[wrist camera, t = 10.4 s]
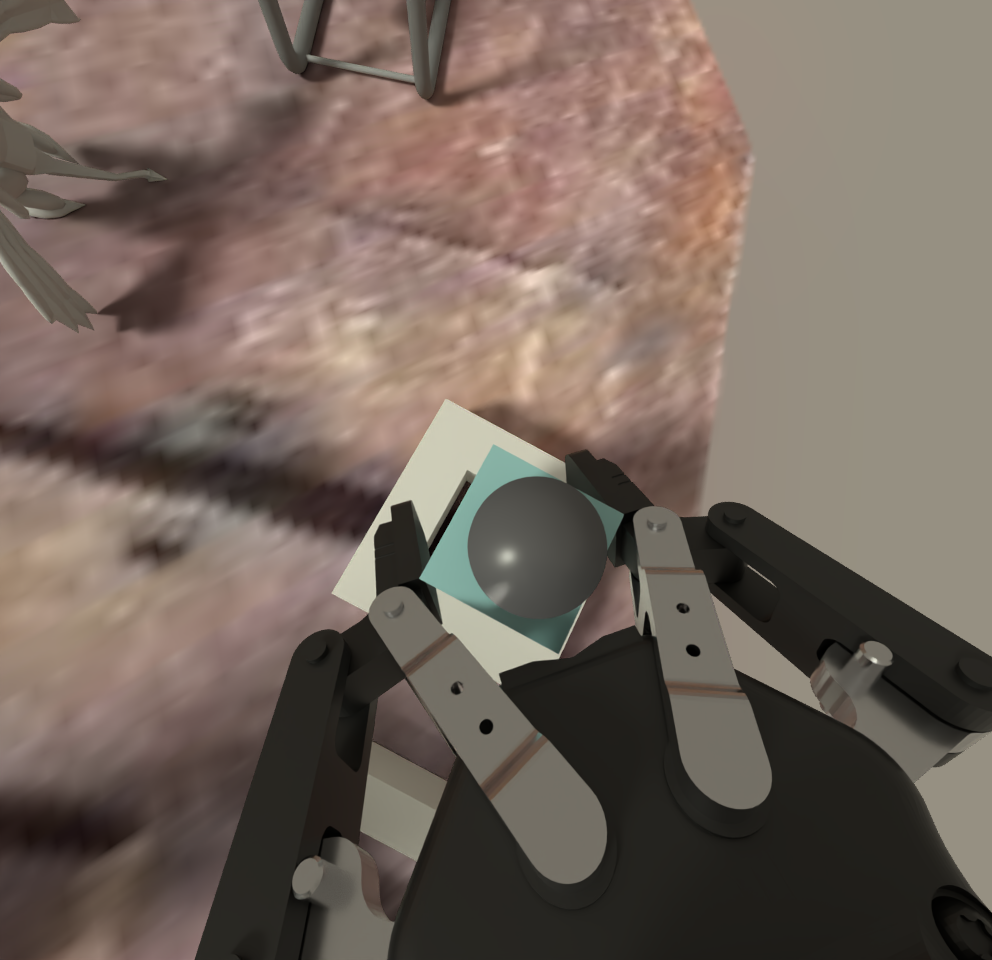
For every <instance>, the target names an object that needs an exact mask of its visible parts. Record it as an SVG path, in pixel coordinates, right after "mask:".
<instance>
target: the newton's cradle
mask: <svg viewBox="0 0 992 960" xmlns="http://www.w3.org/2000/svg"><path fill="white" fill-rule="evenodd" d="M258 2H259V4H260V7H261V10H262V12H263V15H264V18H265V21H266V23H267V26H268V29H269V31H270V34H271V37H272V39H273V42H274V45H275V47H276V50H277V52H278V54H279V57H280V59H281V61H282V62H283V63H284V65H285V66H286V68H287V69H288V70H290V71H291V72H293V73H295V74H300V73H301V72H303V71H304V70H305V69H306V66H307V64H308V62H310V63H315V64H320V65H325V66H330V67H335V68H340V69H345V70H350V71H355V72H360V73H365V74H370V75H375V76H380V77H385V78H390V79H395V80H400V81H405V82H410V83H415V86H416V90H417V92H418V94H419V95H420V96H421V97H422V98H423V99H429V98H430V97H431V96H432V95H433V93H434V89H435V84H436V79H437V74H438V68H439V63H440V57H441V52H442V46H443V41H444V35H445V30H446V24H447V19H448V13H449V8H450V3H451V0H435V5H434V10H433V15H432V21H431V26H430V31H429V36H427V20H426V5H425V0H406V2H407V12H408V22H409V32H410V42H411V52H412V62H413V72H414V76H412V75H407V74H402V73H397V72H392V71H387V70H382V69H377V68H372V67H367V66H362V65H357V64H352V63H347V62H342V61H337V60H332V59H327V58H322V57H317V56H312V55H310V52H311V48H312V44H313V40H314V36H315V32H316V28H317V24H318V20H319V16H320V12H321V8H322V4H323V0H304V4H303V8H302V12H301V16H300V19H299V23H298V27H297V31H296V35H295V39H294V43H293V46H292V43H291V40H290V37H289V34H288V31H287V28H286V25H285V22H284V19H283V16H282V13H281V10H280V7H279V4H278V1H277V0H258Z"/></svg>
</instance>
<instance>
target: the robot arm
mask: <svg viewBox="0 0 992 960" xmlns="http://www.w3.org/2000/svg"><path fill="white" fill-rule="evenodd" d="M565 466H566V482H567V484H569V485H571V486H572V487H574V488H576V489H578V490H580V491H581V492H583V493H585V494H587V495H589V496H591V497H593V498H595V499H596V500H598V501H600V502H602V503H604V504H606V505H608V506H609V507H611V508H613V509H615V510H617V511H619V512H621V513H622V514H624V516H623V518H622V520H621V523H620V525H619V527H618V529H617V531H616V533H615V535H614V538H613V540H612V542H611V544H610V546H609V548H608V550H607V556H608V558H609V559H610V561H611V562H612V564H613V565H614V567H618V566H621V565H624V564H626V565H627V567H628V568H629V570H630V572H629V580H630V587H631V595H632V602H633V610H634V617H635V625H636V627H635V625H634V626H631V627H629V628H626V629H623V630H620V631H617V632H614V633H612V634H609V635H606V636H603V637H601V638H600V639H598V640H597V641H596V642H594V643H593V644H591V645H590V646H588V647H587V648H586V649H584V650H583V651H581V652H580V653H578V654H577V655H576V656H574V657H571V658H565V659H553V660H542V661H532V662H530V663H527V664H524V665H521V666H518V667H515V668H513V669H510V670H507V671H504V672H501V673H499V677H500V680H501V685H499V686H498V685H497V683H496V682H495V681H494V680H493V679H492V677H491V676H490V675H489V674H488V673H487V672H486V670H485V669H484V668H483V667H482V666H481V665H480V663H479V662H478V661H477V660H476V659H475V657H474V656H473V655H472V654H471V653H470V652H469V650H468V649H467V648H466V647H465V646H464V645H463V643H462V642H461V641H460V640H459V639H458V638H457V637H456V636H455V635H454V634H453V633H451V634H449V633H448V632H447V631H446V630H445V629H444V628H443V626H442V624H443V622H442V617H441V612H440V606H439V601H438V596H437V591H436V588H435V587H433V586H432V585H430V584H428V583H426V582H424V581H422V580H421V579H419V578H420V576H421V574H422V573H423V571H424V569H425V567H426V565H427V564H428V562H429V560H430V555H429V549H428V545H427V541H426V537H425V534H424V531H423V528H422V526H421V523H420V520H419V518H418V515H417V512H416V510H415V507H414V504H413V502H412V500H409V501H406V502H402V503H399V504H395V505H392V506H391V518H392V521H390V522H386V523H383V524H380V525H379V527H378V529H377V531H376V533H375V535H374V549H375V551H374V553H375V577H376V598H375V599H374V601H373V602H372V604H371V606H370V608H369V613H368V615H367V616H366V617H365V618H364V619H362V620H361V621H360V622H359V623H357V624H356V625H354V626H352V627H351V628H349V629H348V630H346V631H344V632H343V633H341V634H340V633H339V632H337V631H335V630H329V629H327V630H321V631H318V632H316V633H314V634H312V635H310V636H309V637H307V638H306V639H305V640H304V641H302V643H301V644H300V645H299V646H298V647H297V649H296V650H295V652H294V654H293V656H292V659H291V662H290V665H289V668H288V671H287V675H286V678H285V681H284V684H283V687H282V690H281V693H280V696H279V699H278V702H277V706H276V709H275V712H274V715H273V718H272V721H271V724H270V727H269V730H268V733H267V737H266V740H265V743H264V746H263V749H262V752H261V755H260V758H259V761H258V765H257V768H256V771H255V774H254V777H253V780H252V783H251V786H250V789H249V792H248V796H247V799H246V802H245V805H244V808H243V811H242V814H241V817H240V820H239V823H238V827H237V830H236V833H235V836H234V839H233V842H232V845H231V848H230V851H229V854H228V858H227V861H226V864H225V867H224V870H223V873H222V876H221V879H220V882H219V885H218V889H217V892H216V895H215V898H214V901H213V904H212V907H211V910H210V913H209V917H208V920H207V923H206V926H205V929H204V932H203V935H202V938H201V941H200V944H199V948H198V951H197V954H196V957H195V960H992V912H991V911H990V910H989V909H988V908H987V907H986V906H985V905H984V903H983V902H982V901H981V900H980V898H979V897H978V896H977V895H976V894H975V892H974V891H973V890H972V888H971V887H970V885H969V884H968V882H967V881H966V879H965V878H964V877H963V875H962V873H961V872H960V870H959V869H958V867H957V865H956V864H955V862H954V860H953V859H952V857H951V855H950V854H949V852H948V850H947V849H946V847H945V845H944V843H943V841H942V839H941V837H940V835H939V833H938V831H937V829H936V826H935V825H934V822H933V820H932V817H931V815H930V813H929V811H928V808H927V806H926V804H925V802H924V799H923V798H922V796H921V794H920V793H919V791H918V789H917V788H916V786H915V784H914V783H915V782H916V781H917V780H918V779H919V778H920V777H921V776H923V775H924V774H925V773H926V772H927V771H928V770H929V769H930V768H932V767H940V766H942V765H945V764H946V763H948V762H949V761H950V760H952V759H953V758H955V757H956V756H958V755H959V754H961V753H962V752H963V751H965V750H966V749H967V748H969V747H971V746H972V745H973V744H975V743H976V742H978V741H979V740H981V739H982V738H983V737H985V736H986V735H988V734H989V733H991V732H992V657H991V656H989V655H988V654H986V653H984V652H983V651H981V650H979V649H978V648H976V647H975V646H973V645H971V644H970V643H968V642H967V641H965V640H963V639H962V638H960V637H959V636H957V635H955V634H954V633H952V632H950V631H949V630H947V629H945V628H944V627H942V626H941V625H939V624H937V623H936V622H934V621H933V620H931V619H929V618H928V617H926V616H924V615H923V614H921V613H920V612H918V611H916V610H915V609H913V608H912V607H910V606H908V605H907V604H905V603H904V602H902V601H900V600H899V599H897V598H895V597H894V596H892V595H891V594H889V593H887V592H886V591H884V590H883V589H881V588H879V587H877V586H876V585H874V584H873V583H871V582H869V581H868V580H866V579H865V578H863V577H862V576H860V575H858V574H857V573H855V572H853V571H852V570H850V569H848V568H847V567H845V566H844V565H842V564H840V563H839V562H837V561H836V560H834V559H832V558H831V557H829V556H828V555H826V554H824V553H822V552H821V551H819V550H818V549H816V548H815V547H813V546H811V545H810V544H808V543H806V542H805V541H803V540H802V539H800V538H798V537H797V536H795V535H793V534H792V533H790V532H789V531H787V530H785V529H784V528H782V527H781V526H779V525H777V524H776V523H774V522H773V521H771V520H769V519H768V518H766V517H764V516H763V515H761V514H760V513H758V512H756V511H755V510H753V509H752V508H750V507H748V506H746V505H743V504H740V503H735V502H721V503H718V504H715V505H714V506H712V507H711V508H710V510H709V512H708V516H705V517H704V516H703V517H679V516H678V515H677V514H676V513H674V512H673V511H671V510H669V509H667V508H664V507H658V506H654V505H653V504H652V503H651V502H650V501H649V499H648V498H647V497H646V496H645V495H644V494H643V493H642V492H641V491H640V490H639V489H638V488H637V487H636V486H635V484H634V483H633V482H631V481H630V479H629V478H628V477H627V476H626V475H624V473H623V472H622V470H621V469H620V468H619V467H618V466H617V465H616V464H614V463H612V462H610V461H608V460H606V459H604V458H603V459H600V460H596V459H595V458H594V457H593V456H592V455H591V453H590V452H589V451H588V450H586V449H585V450H582V451H578V452H575V453H571V454H568V455H566V457H565ZM747 565H750V566H751V567H752V568H754V569H755V570H756V571H758V572H759V573H760V574H762V575H763V576H765V577H766V578H767V579H769V580H770V581H771V582H772V583H773V584H774V585H775V586H776V587H777V588H776V587H775V586H773V585H772V584H771V583H769V582H768V581H767V580H765V579H764V578H763V577H761V576H760V575H758V574H757V573H756V572H754V571H753V570H751V569H750V568H749V567H747ZM710 593H712V594H713V595H714V596H715V597H716V598H717V599H718V600H719V601H721V602H722V603H723V604H724V605H725V606H727V607H728V608H729V609H730V610H731V611H732V612H733V613H735V614H736V615H737V616H738V617H739V618H740V619H741V620H743V621H744V622H745V623H746V624H747V625H748V626H750V627H751V628H752V629H753V630H754V631H755V632H756V633H758V634H759V635H760V636H761V637H762V638H764V639H765V640H766V641H767V642H768V643H769V644H770V645H772V646H773V647H774V648H775V649H776V650H777V651H778V652H780V653H781V654H782V655H783V656H784V657H785V658H787V659H788V660H789V661H790V662H791V663H792V664H794V665H795V666H796V667H797V668H798V669H799V670H801V671H802V672H803V673H804V674H805V675H806V676H807V677H809V678H810V683H811V687H812V690H813V692H814V694H815V696H816V697H817V698H818V700H819V701H820V706H821V708H822V710H823V711H824V712H825V713H826V714H827V715H826V714H824V713H822V712H820V711H818V710H816V709H814V708H812V707H810V706H808V705H806V704H804V703H802V702H800V701H798V700H796V699H793V698H792V697H790V696H788V695H786V694H784V693H782V692H779V691H778V690H775V689H774V688H772V687H769V686H768V685H766V684H764V683H762V682H760V681H758V680H756V679H753V678H752V677H750V676H748V675H746V674H744V673H742V672H740V671H738V670H736V669H734V667H733V664H732V661H731V658H730V655H729V652H728V648H727V645H726V642H725V639H724V636H723V632H722V629H721V626H720V622H719V619H718V616H717V613H716V610H715V606H714V603H713V600H712V597H711V594H710ZM404 678H405V680H406V681H407V683H408V684H409V686H410V687H411V689H412V690H413V692H414V693H415V695H416V696H417V698H418V700H419V701H420V703H421V704H422V706H423V707H424V709H425V710H426V712H427V713H428V715H429V716H430V718H431V720H432V721H433V723H434V724H435V726H436V728H437V729H438V731H439V732H440V734H441V735H442V737H443V739H444V740H445V742H446V743H447V745H448V746H449V748H450V749H451V751H452V753H453V754H454V756H455V757H456V759H455V762H454V765H453V767H452V770H451V773H450V775H449V778H448V781H447V783H446V786H445V789H444V791H443V794H442V796H441V799H440V802H439V804H438V807H437V810H436V812H435V815H434V818H433V820H432V823H431V825H430V828H429V831H428V833H427V836H426V839H425V841H424V844H423V847H422V849H421V852H420V855H419V857H418V860H417V862H416V865H415V868H414V870H413V873H412V876H411V878H410V881H409V884H408V886H407V889H406V892H405V894H404V897H403V899H402V902H401V905H400V907H399V910H398V913H397V916H396V919H395V922H391V921H390V920H389V919H388V917H387V916H386V915H385V912H384V910H383V908H382V905H381V901H380V895H379V873H378V869H377V865H376V863H375V861H374V859H373V858H372V856H371V855H370V854H369V853H367V852H366V851H364V850H363V849H361V848H360V847H358V843H359V835H360V828H361V820H362V813H363V806H364V798H365V791H366V783H367V776H368V768H369V761H370V753H371V746H372V738H373V731H374V724H375V716H376V709H377V701H378V697H379V696H380V695H382V694H383V693H385V692H386V691H387V690H389V689H390V688H392V687H393V686H394V685H396V684H397V683H399V682H400V681H401V680H403V679H404Z"/></svg>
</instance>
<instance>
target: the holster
mask: <svg viewBox="0 0 992 960" xmlns="http://www.w3.org/2000/svg"><path fill="white" fill-rule="evenodd" d="M446 783H447V781H446V780H444V779H442V778H440V777H438V776H436V775H434V774H432V773H431V772H429V771H427V770H425V769H423V768H421V767H419V766H418V765H416V764H414V763H412V762H410V761H408V760H406V759H405V758H403V757H401V756H399V755H397V754H395V753H393V752H391V751H390V750H388V749H386V748H384V747H382V746H380V745H378V744H377V743H375V742H373V741H372V746H371V753H370V761H369V768H368V776H367V783H366V791H365V798H364V806H363V813H362V820H361V828H360V831H361V832H363V833H365V834H366V835H368V836H370V837H372V838H374V839H376V840H378V841H379V842H381V843H383V844H385V845H387V846H389V847H391V848H393V849H394V850H396V851H398V852H400V853H402V854H404V855H406V856H407V857H409V858H411V859H413V860H415V861H417V860H418V857H419V855H420V852H421V849H422V847H423V844H424V841H425V839H426V836H427V833H428V831H429V828H430V825H431V823H432V820H433V818H434V815H435V812H436V810H437V807H438V804H439V802H440V799H441V796H442V794H443V791H444V789H445V786H446Z"/></svg>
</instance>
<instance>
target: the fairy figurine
mask: <svg viewBox="0 0 992 960" xmlns="http://www.w3.org/2000/svg"><path fill="white" fill-rule="evenodd" d="M80 20H81V19H79V18H78V17H77V16H76V15H75V14H74V12H73V11H72V10H71V8H70V7H69V6H68V5H67V3H66V2H65V1H64V0H0V42H1V41H2V40H3V39H4V38H6V37H7V36H8V35H9V34H11V33H22V32H26V31H30V30H34V29H38V28H41V27H43V26H45V25H47V24H49V23H58V24H71V23H76V22H79V21H80ZM21 97H22V93H21V92H20V91H19V90H18V89H17V88H16V87H14V86H13V85H11V84H9V83H7V82H6V81H4V80H2V79H0V102H8V101H14V100H19V99H21ZM50 156H53V157H56V158H60V159H63V160H66V161H69V162H73V163H76V164H73V163H69V162H65V161H61V160H57V159H54V158H52V157H50ZM78 164H79V163H78V162H77V161H75V160H74V159H73V158H72V157H71V156H70V155H69V154H68V153H67V152H66V151H65V150H64V149H63V148H62V147H61V146H60V145H59V144H58V143H56V142H55V141H54V140H53V139H52V138H51V137H50V136H49V135H47V134H45V133H44V132H42V131H40V130H38V129H36V128H35V127H33V126H31V125H28V124H25V123H21V122H17V121H15V120H13V119H12V118H11V117H10V116H9V115H8V114H7V113H6V112H5V111H4V110H3V109H2V108H1V107H0V205H1V206H2V207H4V208H5V209H7V210H8V211H10V212H11V213H13V214H14V215H16V216H17V217H19V218H20V219H30V216H33V217H39V218H44V219H49V218H60V217H63V216H65V215H67V214H68V213H70V212H72V211H74V210H76V209H79V208H81V207H83V206H85V205H86V204H82V203H78V202H74V201H70V200H65V199H61V198H60V197H58V196H56V195H53V194H51V193H48V192H45V191H43V190H37V189H31V188H26V187H27V184H28V182H29V181H28V179H27V177H26V175H37V174H49V175H57V176H67V177H77V178H87V179H97V180H107V181H120V180H127V179H134V178H140V177H141V178H146V179H147V180H148V182H151V181H161V180H168V179H166V178H164V177H163V176H161V175H159V174H158V173H156V172H154V171H153V170H151V169H149V168H148V169H147V170H139V171H133V172H127V173H121V174H115V173H111V172H106V171H102V170H98V169H94V168H90V167H86V166H82V165H80V164H79V165H78ZM0 262H1V264H2V265H3V267H4V268H5V270H6V271H7V272H8V273H9V275H10V276H11V277H12V278H13V280H14V281H15V282H16V283H17V285H18V286H19V287H20V288H21V289H22V291H23V292H24V294H25V295H26V296H27V298H28V299H29V300H30V302H31V303H32V304H33V305H34V307H35V308H36V309H37V310H38V311H39V312H40V314H41V315H42V316H43V317H44V318H45V319H46V320H47V321H49V322H50V323H51V324H52V323H53V322H55V321H56V320H57V321H59V322H61V323H62V324H64V325H66V326H67V327H69V328H71V329H72V330H74V331H76V332H77V333H79V331H78V325H77V324H79V325H81V326H84V327H86V328H89V329H92V330H94V328H93V326H92V324H91V322H90V321H89V319H88V317H87V315H86V313H91V314H98V313H97V311H96V310H95V309H94V308H93V307H92V306H91V305H90V304H89V303H88V302H87V301H86V300H85V299H84V298H83V297H82V296H80V295H79V294H78V293H77V292H76V291H74V290H73V289H72V288H71V287H69V286H68V285H67V283H66V282H65V281H64V280H63V279H62V277H61V276H60V275H59V274H58V273H57V272H56V271H55V270H54V269H53V268H52V267H51V266H50V265H49V264H48V263H47V262H46V261H45V260H44V259H43V258H42V257H41V256H40V255H39V254H38V253H37V252H36V251H35V250H33V249H32V248H31V247H30V246H29V245H28V244H27V243H26V241H25V240H24V239H23V238H22V236H21V235H20V234H19V232H18V231H17V230H16V229H15V227H14V226H13V225H12V223H11V222H10V221H9V220H8V219H7V218H6V216H5V215H4V214H3V213H2V212H1V211H0Z"/></svg>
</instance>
